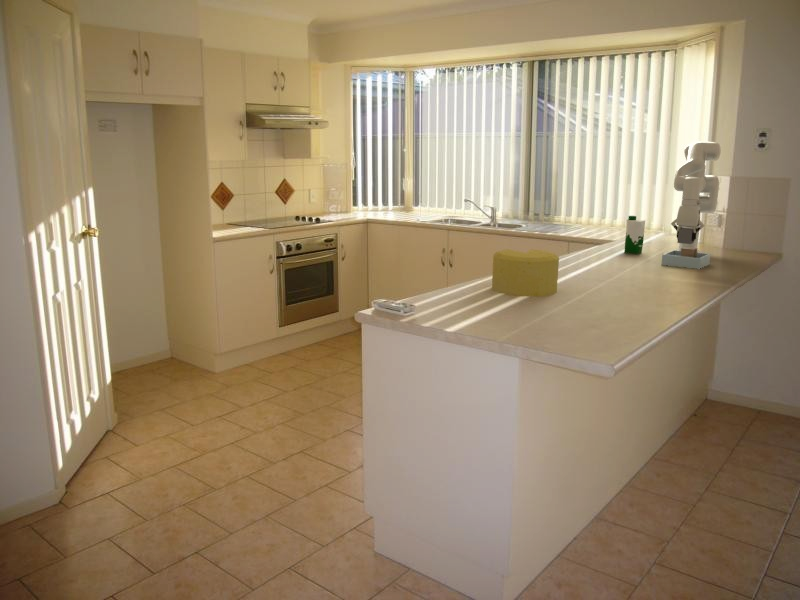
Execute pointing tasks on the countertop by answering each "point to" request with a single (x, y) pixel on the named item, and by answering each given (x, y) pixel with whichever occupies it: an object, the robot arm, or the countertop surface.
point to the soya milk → (634, 235)
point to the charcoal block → (685, 235)
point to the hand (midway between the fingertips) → (685, 239)
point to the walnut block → (689, 252)
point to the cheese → (525, 273)
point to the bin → (685, 260)
